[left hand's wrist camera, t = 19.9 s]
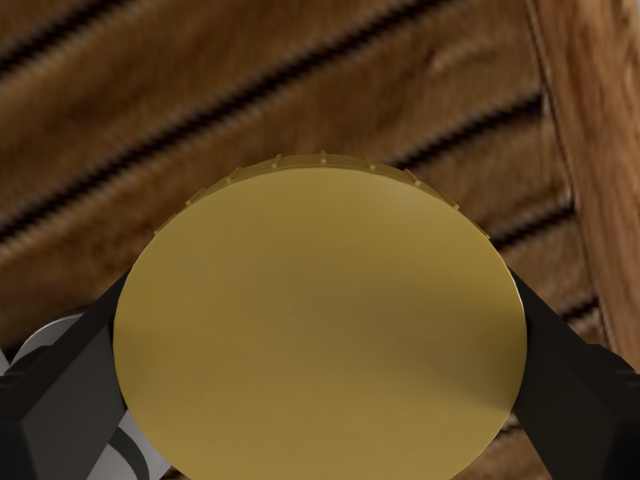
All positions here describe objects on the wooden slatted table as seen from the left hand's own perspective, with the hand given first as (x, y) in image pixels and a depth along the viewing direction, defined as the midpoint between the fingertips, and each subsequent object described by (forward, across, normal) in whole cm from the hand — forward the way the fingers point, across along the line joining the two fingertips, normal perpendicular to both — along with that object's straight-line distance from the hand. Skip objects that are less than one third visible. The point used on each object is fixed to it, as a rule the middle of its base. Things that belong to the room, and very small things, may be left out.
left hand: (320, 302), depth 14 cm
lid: (-3, 0, 0) cm, 3 cm away
